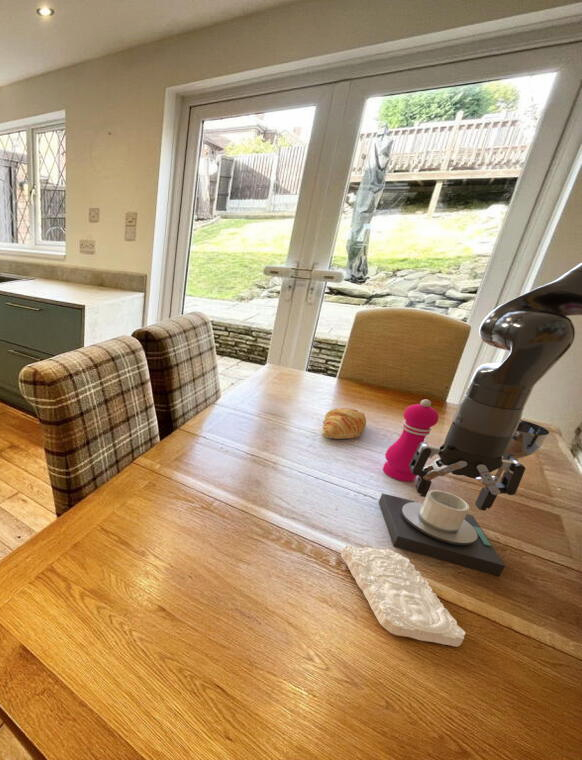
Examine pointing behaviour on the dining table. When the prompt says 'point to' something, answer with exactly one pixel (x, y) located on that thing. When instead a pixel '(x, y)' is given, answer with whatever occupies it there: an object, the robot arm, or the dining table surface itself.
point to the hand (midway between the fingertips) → (449, 500)
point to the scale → (414, 540)
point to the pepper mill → (410, 440)
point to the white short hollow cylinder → (444, 510)
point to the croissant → (343, 423)
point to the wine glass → (522, 444)
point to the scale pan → (458, 537)
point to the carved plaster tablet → (401, 596)
